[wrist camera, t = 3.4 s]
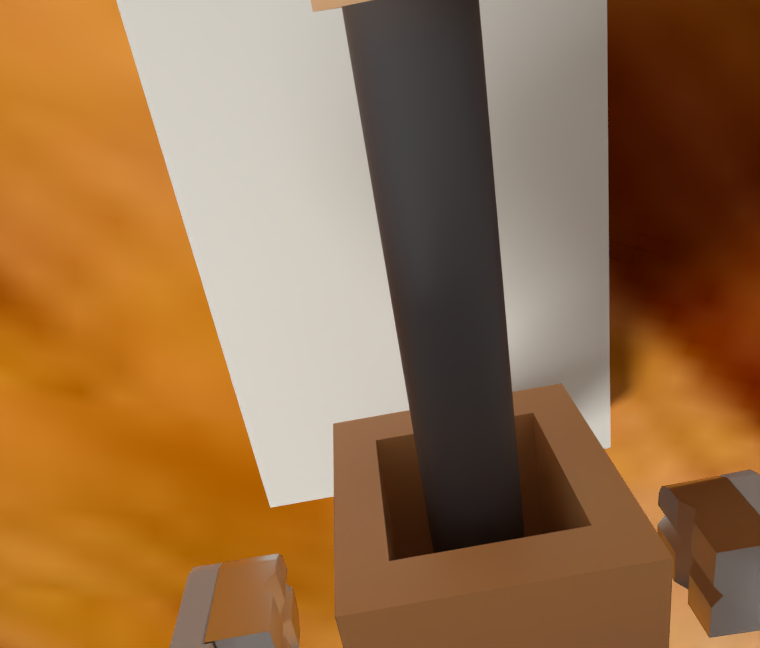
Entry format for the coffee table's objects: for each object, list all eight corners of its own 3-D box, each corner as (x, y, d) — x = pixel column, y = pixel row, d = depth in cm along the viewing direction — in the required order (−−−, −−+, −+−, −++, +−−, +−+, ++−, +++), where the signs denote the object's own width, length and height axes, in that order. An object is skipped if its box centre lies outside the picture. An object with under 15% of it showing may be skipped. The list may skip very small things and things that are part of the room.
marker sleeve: (570, 568, 13) (662, 779, 9) (374, 602, 13) (391, 825, 9) (561, 383, 11) (672, 557, 8) (333, 423, 11) (335, 615, 8)
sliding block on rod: (591, 418, 20) (848, 809, 10) (274, 474, 20) (221, 917, 10) (574, -321, 13) (1493, -1591, 3) (69, -229, 13) (-888, -1136, 3)
